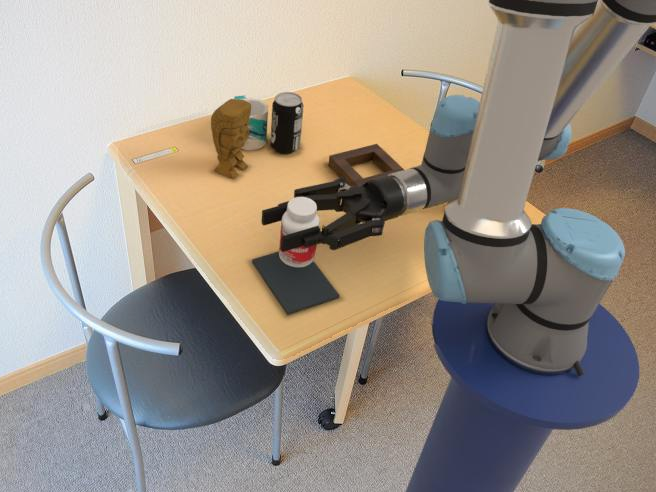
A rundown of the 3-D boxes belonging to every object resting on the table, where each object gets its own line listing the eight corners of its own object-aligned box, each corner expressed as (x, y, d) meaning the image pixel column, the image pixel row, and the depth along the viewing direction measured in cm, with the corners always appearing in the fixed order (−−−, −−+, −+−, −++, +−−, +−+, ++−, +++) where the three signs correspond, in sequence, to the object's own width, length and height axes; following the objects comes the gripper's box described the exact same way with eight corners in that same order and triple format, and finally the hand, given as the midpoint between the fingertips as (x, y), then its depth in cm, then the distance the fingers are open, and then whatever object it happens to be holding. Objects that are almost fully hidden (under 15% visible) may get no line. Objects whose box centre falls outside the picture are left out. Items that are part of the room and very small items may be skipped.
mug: (235, 152, 143) (236, 118, 137) (222, 123, 151) (222, 90, 146) (271, 147, 145) (273, 113, 139) (256, 119, 153) (257, 86, 148)
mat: (339, 298, 112) (339, 295, 112) (287, 315, 109) (287, 312, 109) (300, 247, 121) (300, 244, 121) (251, 262, 118) (251, 259, 118)
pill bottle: (272, 261, 110) (276, 211, 103) (286, 240, 114) (291, 189, 107) (307, 273, 109) (313, 222, 101) (320, 250, 113) (327, 200, 105)
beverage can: (265, 142, 147) (268, 93, 138) (293, 137, 148) (297, 89, 140) (276, 158, 142) (279, 108, 134) (304, 153, 144) (309, 103, 136)
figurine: (233, 181, 135) (234, 118, 125) (207, 171, 138) (206, 107, 127) (251, 165, 140) (253, 102, 129) (226, 155, 142) (226, 93, 132)
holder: (406, 183, 137) (408, 173, 135) (357, 196, 133) (359, 187, 131) (375, 153, 145) (376, 143, 143) (328, 165, 141) (329, 155, 139)
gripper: (421, 246, 109) (298, 287, 101) (360, 182, 121) (246, 213, 113) (431, 212, 104) (302, 251, 96) (366, 148, 116) (247, 178, 108)
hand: (272, 230), depth 105 cm, fingers closed on pill bottle, 6 cm apart
